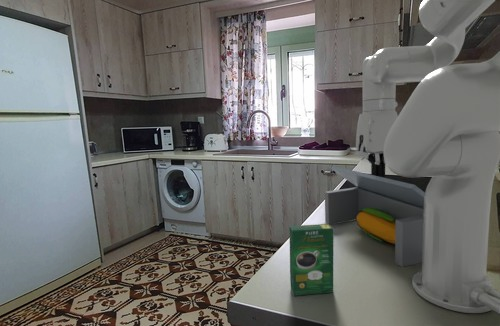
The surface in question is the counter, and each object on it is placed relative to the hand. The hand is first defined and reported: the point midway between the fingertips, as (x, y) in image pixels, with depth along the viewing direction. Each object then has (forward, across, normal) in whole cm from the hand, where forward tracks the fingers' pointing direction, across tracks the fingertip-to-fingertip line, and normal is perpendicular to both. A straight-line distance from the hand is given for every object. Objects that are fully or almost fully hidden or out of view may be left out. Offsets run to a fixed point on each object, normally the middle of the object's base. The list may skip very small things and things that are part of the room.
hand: (378, 178), depth 76 cm
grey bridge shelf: (+16, 0, -1) cm, 16 cm away
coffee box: (+16, +28, +15) cm, 36 cm away
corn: (+17, -1, +1) cm, 17 cm away
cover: (+3, -1, -1) cm, 3 cm away
